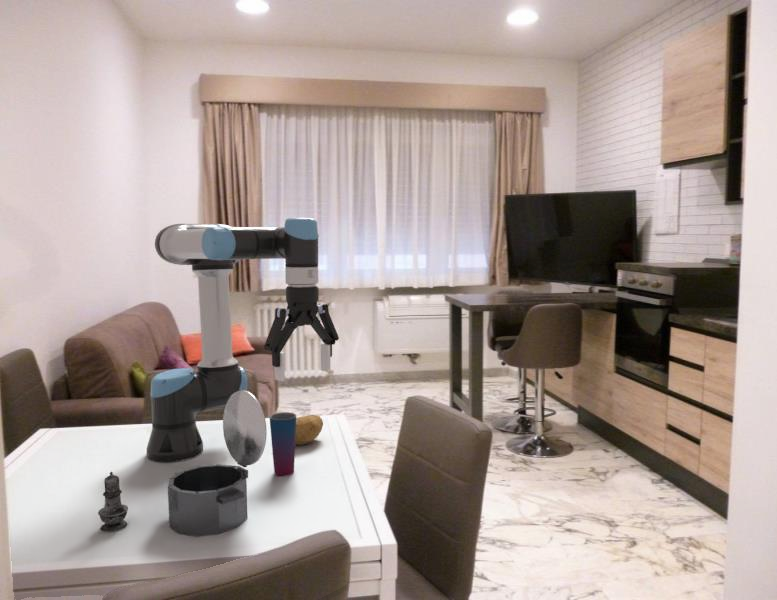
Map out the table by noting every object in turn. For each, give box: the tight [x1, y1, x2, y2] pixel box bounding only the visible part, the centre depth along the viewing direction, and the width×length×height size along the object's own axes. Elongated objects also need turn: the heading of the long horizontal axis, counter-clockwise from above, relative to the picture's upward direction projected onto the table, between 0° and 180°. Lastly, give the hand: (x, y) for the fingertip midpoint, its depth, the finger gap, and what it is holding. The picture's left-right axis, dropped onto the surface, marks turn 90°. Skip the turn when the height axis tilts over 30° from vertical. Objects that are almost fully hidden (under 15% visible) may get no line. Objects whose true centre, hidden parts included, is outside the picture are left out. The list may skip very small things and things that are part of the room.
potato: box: [295, 414, 324, 446], centre depth 183 cm, size 10×14×8 cm
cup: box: [269, 411, 297, 477], centre depth 159 cm, size 7×7×15 cm
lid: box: [222, 390, 268, 468], centre depth 139 cm, size 17×17×3 cm
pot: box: [167, 463, 249, 537], centre depth 134 cm, size 20×17×9 cm
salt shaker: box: [97, 471, 129, 533], centre depth 130 cm, size 6×6×12 cm
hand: (303, 375), depth 145 cm, fingers open, 13 cm apart
